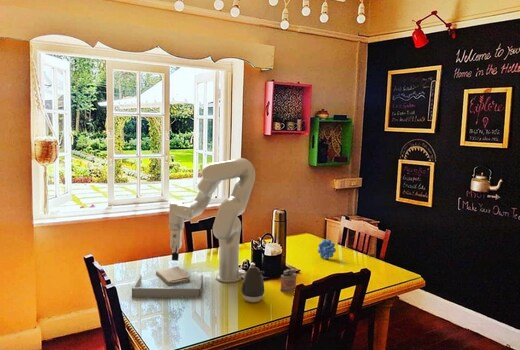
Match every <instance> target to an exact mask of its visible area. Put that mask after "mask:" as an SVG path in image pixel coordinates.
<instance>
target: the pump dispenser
mask: <svg viewBox="0 0 520 350" xmlns="http://www.w3.org/2000/svg"><path fill="white" fill-rule="evenodd" d="M245 272H246V274H245V276H244V277H243V279H242V285H241V290H240V291H241V295H242V297H243V299H244V300H245V301H246V302H249V303H258V302H260V301H261V300H262V299H263V298H264V297H263V296H264V295H265V291H266V290H265V281H264V279H263V277H264V276H263V274H265V271H264V270H261V271H260V268H258V267H256V266H250V267H249V268H248V269H247V271H245Z"/></svg>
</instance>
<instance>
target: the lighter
mask: <svg viewBox="0 0 520 350" xmlns="http://www.w3.org/2000/svg"><path fill="white" fill-rule="evenodd" d="M297 276H298V275H297V273H296V269H295V268H293V269H292V268H291V269H288V268H287V269H286V270H284V271H283V274H281V275H280V278H281V279H280V289H279V290H280V291H279V292H281V293H290V291H291V292H295V291H294V289H295V286H296V287H297Z"/></svg>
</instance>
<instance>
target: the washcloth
mask: <svg viewBox="0 0 520 350" xmlns="http://www.w3.org/2000/svg"><path fill="white" fill-rule="evenodd" d="M155 275H157V276H158V277H159V278H160V279H161V280H162V281H163V282H165V283H166V284H167V286H169V287H170V286H177V285H180V284H185V283H189V282H191V279H190V275H189V274H188V273H187V272H186V271H185V270H184V269H182V268H181V267H179V266H173V267H170V268H165V269H164V268H163V269H160V270H156V271H155Z"/></svg>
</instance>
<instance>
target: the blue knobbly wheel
mask: <svg viewBox="0 0 520 350" xmlns="http://www.w3.org/2000/svg"><path fill="white" fill-rule="evenodd" d="M335 246H336V244H335V243H334V242H332V239H328V238H327V240H326V239H322V240H321V242H320V243H318V249H317V253H318V254H319V257H320V258H322V259H323V258H324V259H325V260H328V259H329V258H333V257H334V254H335V252H337V250H336V247H335Z"/></svg>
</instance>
